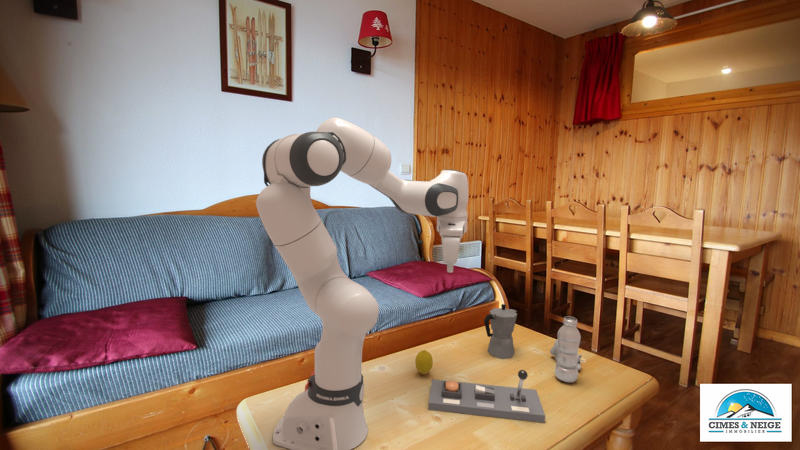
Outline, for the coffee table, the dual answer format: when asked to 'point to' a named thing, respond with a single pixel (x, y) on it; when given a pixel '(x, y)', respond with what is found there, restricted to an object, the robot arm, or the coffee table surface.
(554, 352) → the round bodied animal figurine
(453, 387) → the push button
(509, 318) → the coffeepot
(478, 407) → the control panel
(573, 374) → the plastic bottle
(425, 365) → the lemon
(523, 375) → the toggle lever
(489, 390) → the rocker switch
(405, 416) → the coffee table surface
